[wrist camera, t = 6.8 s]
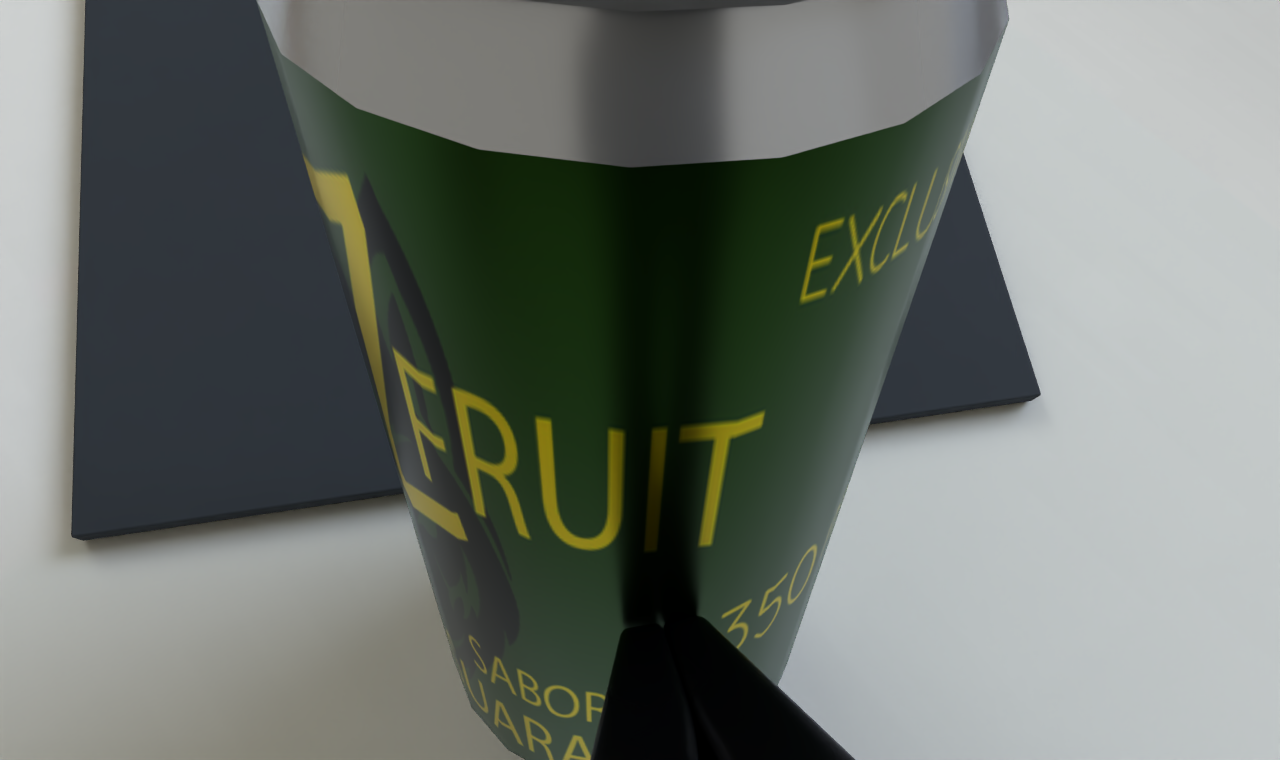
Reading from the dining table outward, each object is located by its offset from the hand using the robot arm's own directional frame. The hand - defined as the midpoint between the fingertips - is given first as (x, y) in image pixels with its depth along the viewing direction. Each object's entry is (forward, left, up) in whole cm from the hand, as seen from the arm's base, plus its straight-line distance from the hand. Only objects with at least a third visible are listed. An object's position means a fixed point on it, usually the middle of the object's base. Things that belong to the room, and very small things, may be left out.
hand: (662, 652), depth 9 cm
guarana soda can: (0, 0, -6) cm, 6 cm away
